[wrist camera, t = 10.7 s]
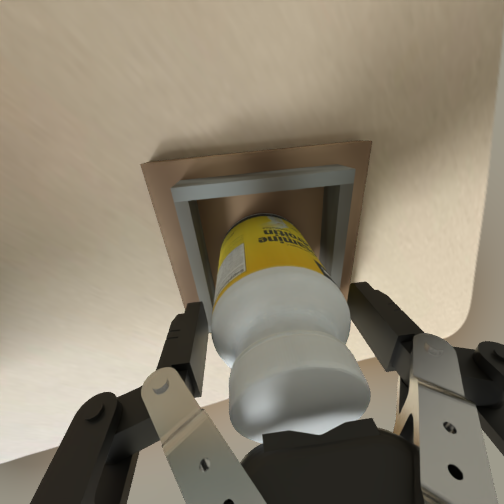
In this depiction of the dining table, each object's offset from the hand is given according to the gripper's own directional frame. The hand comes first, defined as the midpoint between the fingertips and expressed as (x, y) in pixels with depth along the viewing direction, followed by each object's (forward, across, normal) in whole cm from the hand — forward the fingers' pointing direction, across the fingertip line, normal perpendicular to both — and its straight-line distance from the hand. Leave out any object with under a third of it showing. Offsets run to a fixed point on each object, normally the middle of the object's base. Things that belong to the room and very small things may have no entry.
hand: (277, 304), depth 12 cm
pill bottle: (+6, 0, 0) cm, 7 cm away
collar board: (+8, 0, 0) cm, 8 cm away
